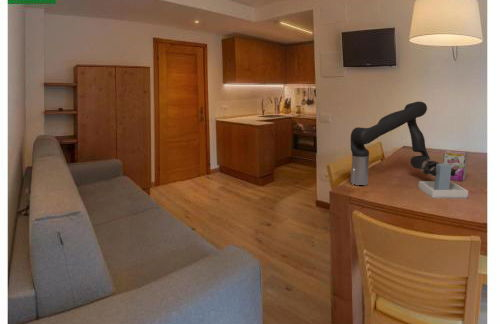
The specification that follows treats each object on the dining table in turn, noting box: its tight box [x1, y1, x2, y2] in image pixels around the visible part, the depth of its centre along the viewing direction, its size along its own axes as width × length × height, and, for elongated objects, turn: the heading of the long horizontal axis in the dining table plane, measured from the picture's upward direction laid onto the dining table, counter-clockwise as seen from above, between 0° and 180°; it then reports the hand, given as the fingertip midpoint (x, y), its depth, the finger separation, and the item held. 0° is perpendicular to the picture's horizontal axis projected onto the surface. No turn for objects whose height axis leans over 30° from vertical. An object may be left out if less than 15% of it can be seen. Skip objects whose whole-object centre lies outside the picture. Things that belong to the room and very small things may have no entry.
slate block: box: [434, 163, 451, 190], centre depth 160 cm, size 5×5×14 cm
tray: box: [418, 180, 469, 200], centre depth 161 cm, size 16×18×4 cm
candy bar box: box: [442, 150, 469, 182], centre depth 184 cm, size 11×5×16 cm, turn 41°
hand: (444, 174), depth 158 cm, fingers open, 8 cm apart
